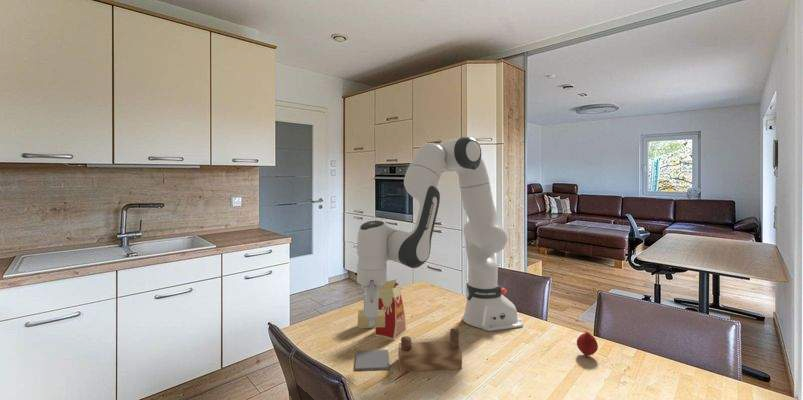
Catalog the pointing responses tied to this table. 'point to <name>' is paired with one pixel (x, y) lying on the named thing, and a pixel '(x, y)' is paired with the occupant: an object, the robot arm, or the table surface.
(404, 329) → the milk carton
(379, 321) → the wooden block
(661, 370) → the table surface
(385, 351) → the mat
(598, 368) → the table surface
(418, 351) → the plane body
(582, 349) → the onion
